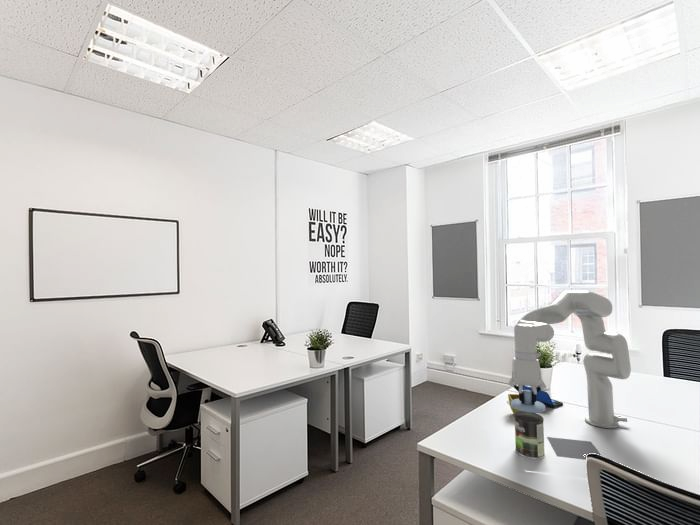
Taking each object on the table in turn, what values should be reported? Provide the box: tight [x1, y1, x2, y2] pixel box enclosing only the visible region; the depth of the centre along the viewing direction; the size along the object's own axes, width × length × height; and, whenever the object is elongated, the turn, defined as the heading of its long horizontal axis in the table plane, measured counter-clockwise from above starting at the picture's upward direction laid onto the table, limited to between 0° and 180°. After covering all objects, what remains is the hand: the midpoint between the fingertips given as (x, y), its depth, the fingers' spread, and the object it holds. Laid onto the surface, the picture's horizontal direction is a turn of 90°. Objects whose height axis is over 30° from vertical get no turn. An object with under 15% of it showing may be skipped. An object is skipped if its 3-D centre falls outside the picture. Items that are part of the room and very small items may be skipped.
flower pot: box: [507, 393, 519, 415], centre depth 170 cm, size 9×9×9 cm
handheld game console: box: [522, 386, 564, 409], centre depth 186 cm, size 16×13×9 cm
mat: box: [546, 436, 602, 460], centre depth 137 cm, size 16×16×1 cm
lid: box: [511, 390, 546, 414], centre depth 136 cm, size 12×12×6 cm
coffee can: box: [513, 411, 546, 460], centre depth 136 cm, size 10×10×14 cm
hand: (527, 402), depth 136 cm, fingers closed on lid, 3 cm apart
